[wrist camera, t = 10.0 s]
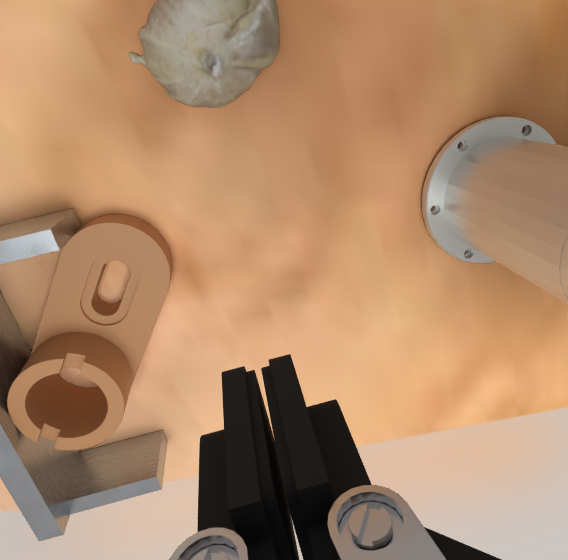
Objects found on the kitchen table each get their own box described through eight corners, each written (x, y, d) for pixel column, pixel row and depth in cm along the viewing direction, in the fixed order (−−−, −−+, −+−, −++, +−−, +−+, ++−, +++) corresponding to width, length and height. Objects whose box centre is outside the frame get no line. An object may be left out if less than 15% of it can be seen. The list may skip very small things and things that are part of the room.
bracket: (121, 406, 45) (106, 459, 38) (28, 383, 42) (-5, 435, 36) (186, 235, 39) (181, 264, 33) (84, 197, 37) (58, 221, 31)
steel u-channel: (74, 207, 37) (40, 237, 30) (167, 441, 46) (159, 508, 39) (-135, 258, 36) (-222, 301, 29) (4, 485, 46) (-35, 562, 38)
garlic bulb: (254, 8, 36) (324, -39, 27) (243, 124, 37) (307, 115, 29) (124, -32, 31) (160, -102, 23) (119, 102, 33) (150, 84, 24)
